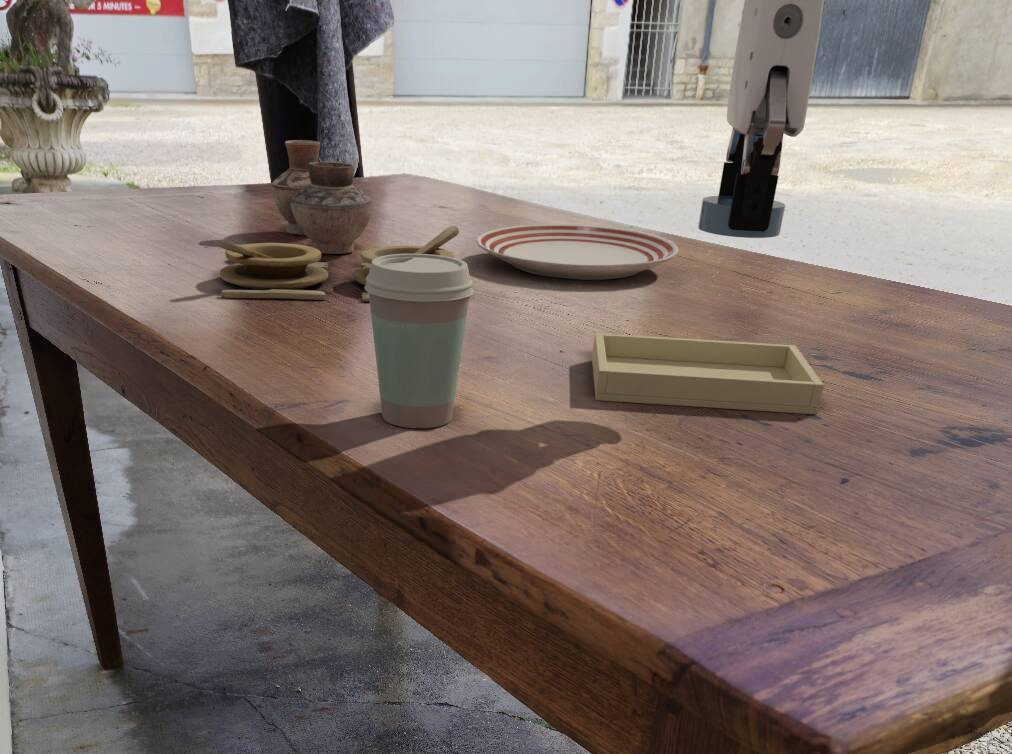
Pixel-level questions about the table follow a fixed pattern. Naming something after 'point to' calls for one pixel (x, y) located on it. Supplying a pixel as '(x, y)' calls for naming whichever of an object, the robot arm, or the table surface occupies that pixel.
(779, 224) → the blue-grey disc
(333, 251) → the pottery
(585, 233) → the dinner plate
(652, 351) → the serving tray
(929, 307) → the table surface
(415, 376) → the coffee cup
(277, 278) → the tableware set
